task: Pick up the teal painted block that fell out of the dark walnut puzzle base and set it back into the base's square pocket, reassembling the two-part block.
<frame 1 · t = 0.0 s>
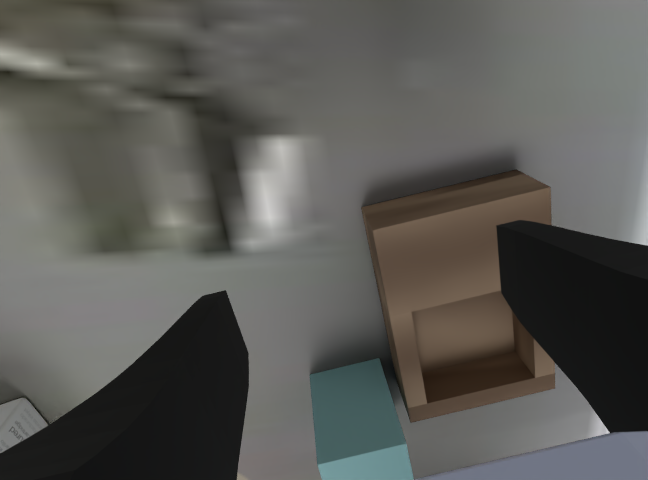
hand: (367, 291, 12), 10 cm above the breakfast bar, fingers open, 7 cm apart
teal block: (351, 393, 26), on the breakfast bar
ink box: (6, 466, 26), on the breakfast bar
walnut base: (451, 286, 24), on the breakfast bar
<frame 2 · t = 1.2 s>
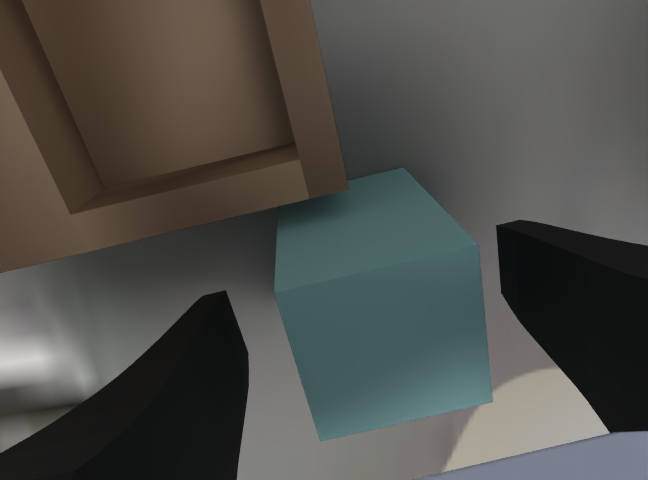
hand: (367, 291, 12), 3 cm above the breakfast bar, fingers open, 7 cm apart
teal block: (353, 239, 15), on the breakfast bar
walnut base: (111, 74, 12), on the breakfast bar
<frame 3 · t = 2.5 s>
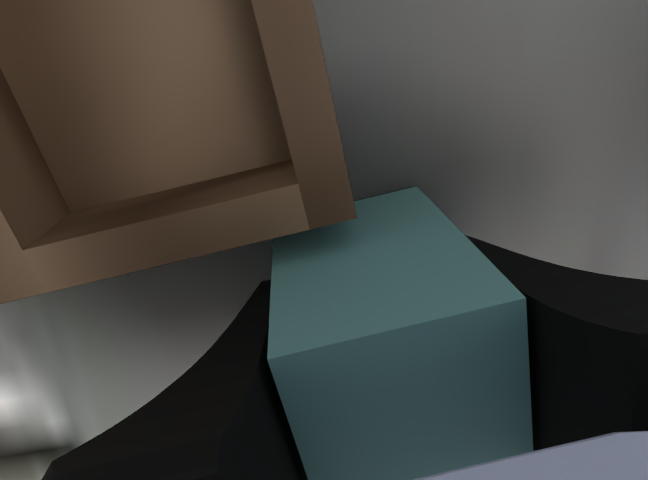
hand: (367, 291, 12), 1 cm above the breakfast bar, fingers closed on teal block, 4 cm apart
teal block: (359, 267, 13), on the breakfast bar, touching gripper
walnut base: (77, 80, 11), on the breakfast bar
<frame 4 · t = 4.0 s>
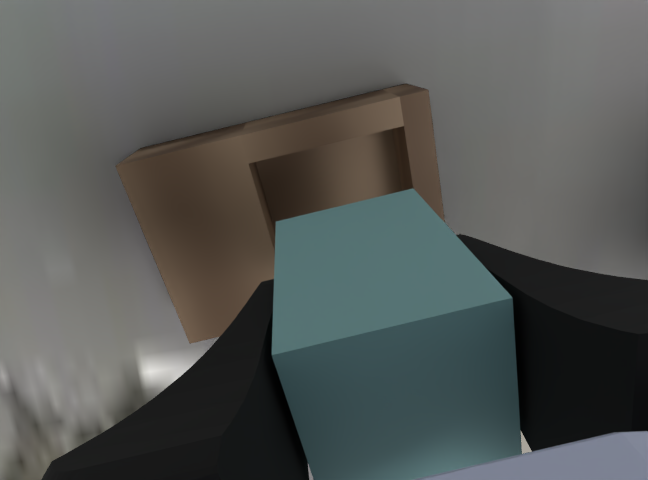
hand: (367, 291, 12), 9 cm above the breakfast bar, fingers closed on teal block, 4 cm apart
teal block: (357, 266, 14), point 7 cm above the breakfast bar, touching gripper
walnut base: (295, 203, 20), on the breakfast bar
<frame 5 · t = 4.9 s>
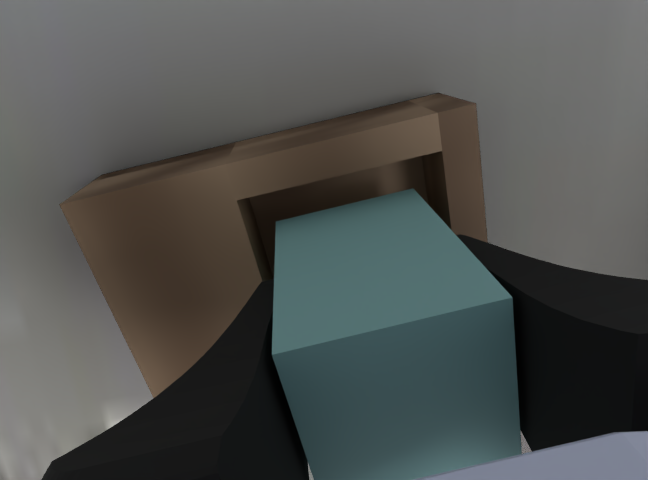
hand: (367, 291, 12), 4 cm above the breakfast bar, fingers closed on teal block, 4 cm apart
teal block: (357, 265, 14), point 3 cm above the breakfast bar, touching gripper
walnut base: (298, 240, 16), on the breakfast bar
when the fingers open (4 cm above the breakfast bar, at t = 5.5 s): teal block drops 2 cm, resting on walnut base.
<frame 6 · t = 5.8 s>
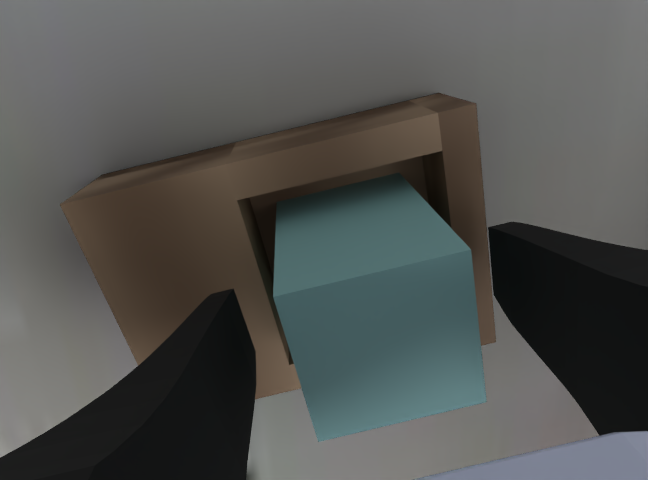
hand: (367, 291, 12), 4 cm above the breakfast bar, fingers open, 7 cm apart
teal block: (349, 243, 15), point 1 cm above the breakfast bar, touching walnut base
walnut base: (298, 240, 16), on the breakfast bar
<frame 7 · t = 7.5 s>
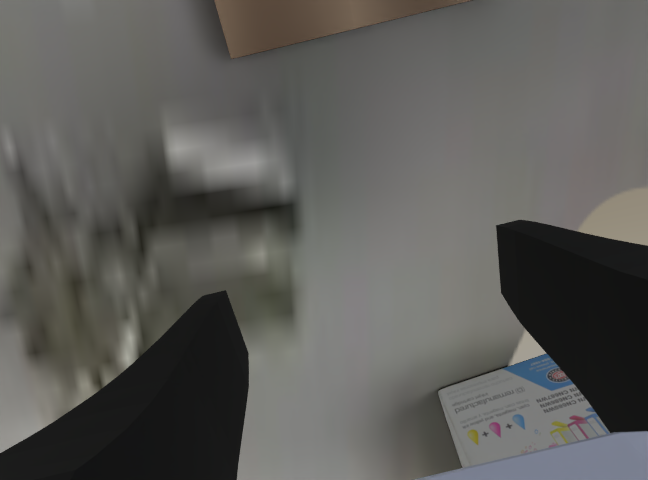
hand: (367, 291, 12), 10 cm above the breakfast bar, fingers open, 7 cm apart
ink box: (515, 413, 28), on the breakfast bar
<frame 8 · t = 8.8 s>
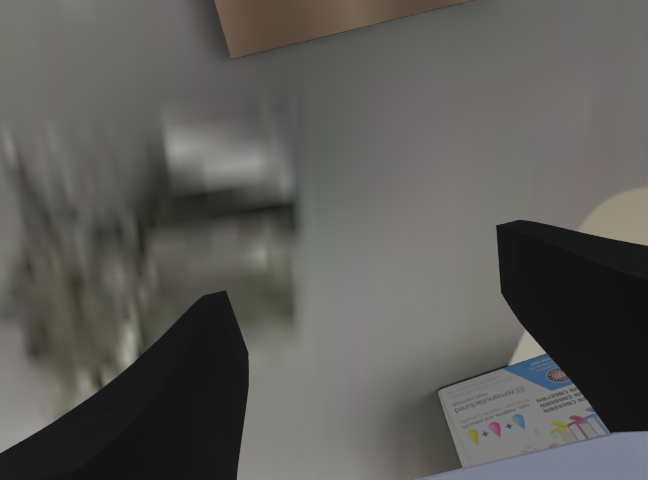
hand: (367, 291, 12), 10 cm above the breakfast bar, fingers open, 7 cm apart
ink box: (515, 413, 28), on the breakfast bar
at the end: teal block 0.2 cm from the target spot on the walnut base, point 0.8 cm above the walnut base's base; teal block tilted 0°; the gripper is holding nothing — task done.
